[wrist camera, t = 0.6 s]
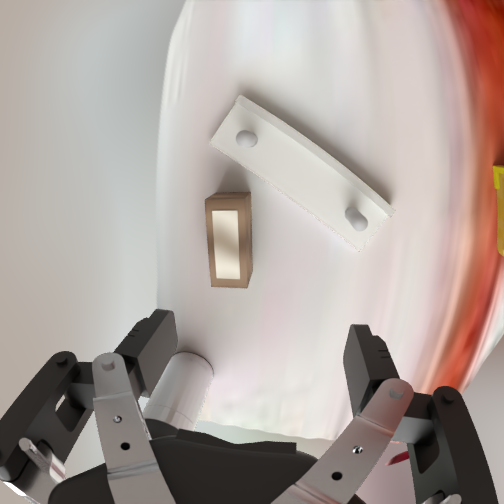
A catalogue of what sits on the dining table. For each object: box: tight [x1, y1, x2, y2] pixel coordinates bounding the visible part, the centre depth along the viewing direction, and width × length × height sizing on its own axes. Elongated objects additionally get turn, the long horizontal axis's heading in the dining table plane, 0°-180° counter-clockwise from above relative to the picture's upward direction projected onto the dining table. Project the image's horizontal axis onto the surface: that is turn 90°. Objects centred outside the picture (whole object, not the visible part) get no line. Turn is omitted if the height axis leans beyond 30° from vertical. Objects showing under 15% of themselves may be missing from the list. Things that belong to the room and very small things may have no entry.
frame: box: [205, 192, 252, 288], centre depth 39 cm, size 12×5×6 cm, turn 1°
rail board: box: [209, 95, 396, 252], centre depth 35 cm, size 8×26×6 cm, turn 56°
